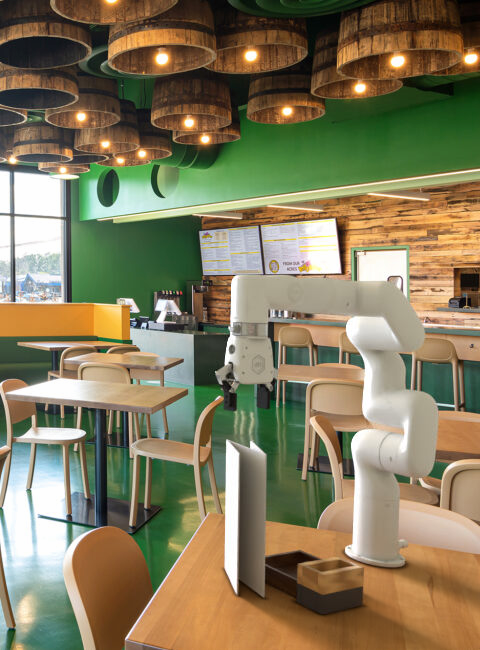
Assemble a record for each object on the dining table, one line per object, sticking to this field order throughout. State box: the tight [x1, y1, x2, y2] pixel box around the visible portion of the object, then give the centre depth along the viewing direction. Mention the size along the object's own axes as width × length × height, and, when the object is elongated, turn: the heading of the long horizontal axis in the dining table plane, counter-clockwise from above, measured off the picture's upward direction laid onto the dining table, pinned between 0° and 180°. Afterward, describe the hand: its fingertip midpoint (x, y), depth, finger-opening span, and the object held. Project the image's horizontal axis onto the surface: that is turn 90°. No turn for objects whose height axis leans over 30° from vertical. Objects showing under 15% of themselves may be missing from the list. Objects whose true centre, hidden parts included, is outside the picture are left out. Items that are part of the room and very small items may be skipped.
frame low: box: [295, 583, 364, 615], centre depth 137 cm, size 12×6×4 cm, turn 114°
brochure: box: [224, 439, 268, 598], centre depth 146 cm, size 14×6×30 cm, turn 169°
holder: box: [265, 549, 323, 598], centre depth 149 cm, size 16×13×4 cm
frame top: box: [297, 556, 365, 595], centre depth 137 cm, size 12×6×4 cm, turn 114°
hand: (246, 409), depth 145 cm, fingers open, 9 cm apart
